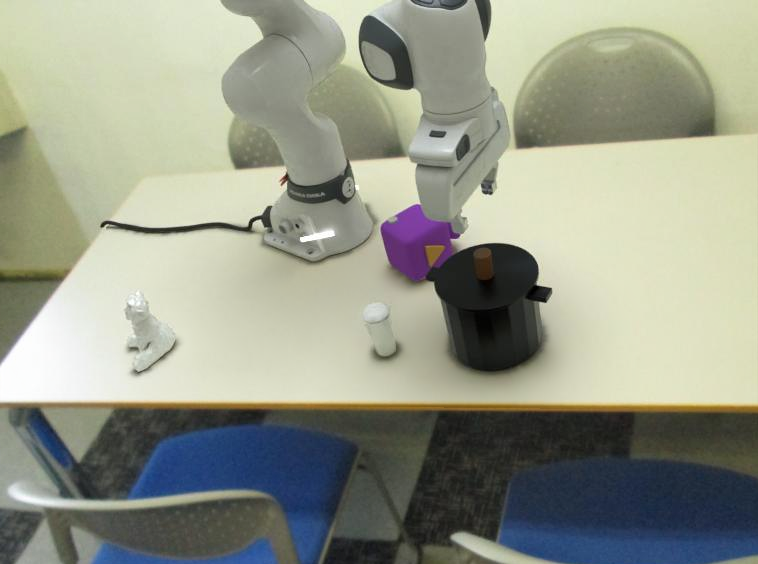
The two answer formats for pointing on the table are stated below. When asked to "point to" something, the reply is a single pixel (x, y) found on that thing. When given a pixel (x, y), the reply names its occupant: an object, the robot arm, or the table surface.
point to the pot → (496, 331)
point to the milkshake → (380, 328)
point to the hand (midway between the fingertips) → (475, 210)
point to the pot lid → (486, 277)
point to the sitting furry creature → (146, 332)
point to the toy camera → (416, 242)
